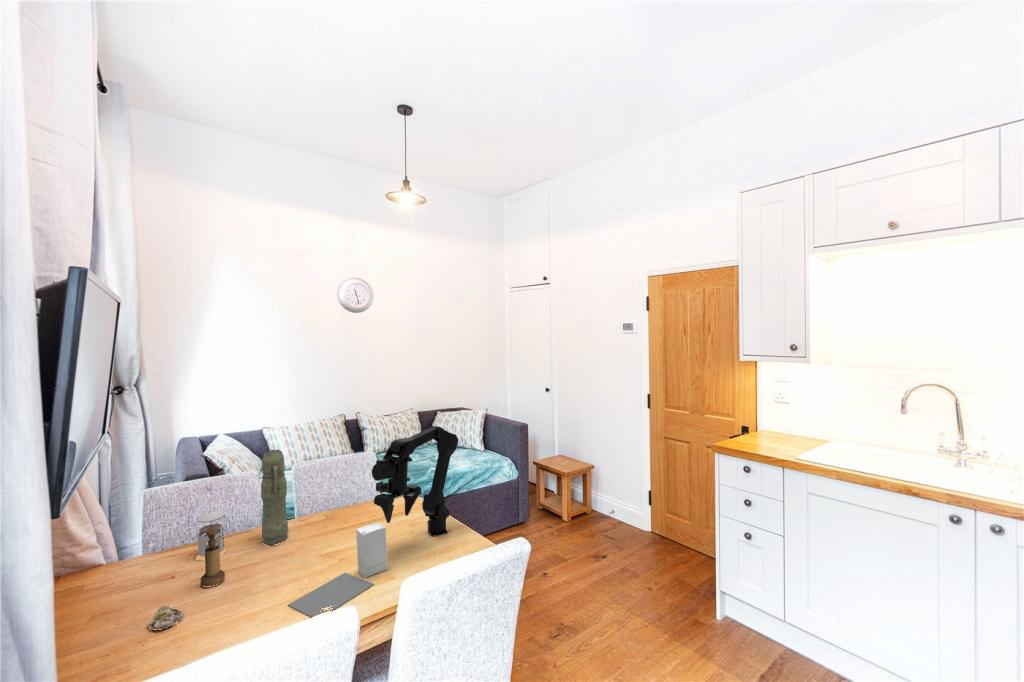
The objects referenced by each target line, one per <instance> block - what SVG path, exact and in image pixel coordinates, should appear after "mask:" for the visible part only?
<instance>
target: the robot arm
mask: <svg viewBox="0 0 1024 682" xmlns="http://www.w3.org/2000/svg"><path fill="white" fill-rule="evenodd" d="M432 440H434V441H435V442H436V449H437V453H438V455H437V461H436V464H435V468H434V474H433V477H432V482H431V488H430V491H429V492H427V494H426V493H425V494H424V495H423V500H422V503H421V506H422V511H423V513H424V515H425V517H428V520H427V522H426V523H427V524H426V525H427V532H428V533H429V535H430V536H431V535H432V537H435V536H434V535H436V536H440V535H444V534H443V533H445V534H448V533H447V532H449V531H448V530H447V518H449V517H450V513H451V511H450V510H449V509H448V508H447V507H446V499H445V496H444V495H445V494H444V489H445V485H446V484H445V483H446V480H447V476H448V470H449V466H450V465H449V464H450V460H451V457H452V455H454V453H455V452H456V450H457V447H458V444H459V437H458V436H457V435H456V434H455V433H452V432H449V431H447V430H446V429H444V428H443V427H441V426H436V425H435V426H434V425H432V426H430V427H428V428H427V429H425V430H422V431H420V432H418V433H416V434H414V435H412V436H409V437H403V438H398V439H394V440H392V442H390V445H389V447H388V448H387V451H386V452H385V454H384V456H383V458H382V460H381V459H378V460H376V461H375V464H374V465H373V467H372V469H371V476H372V478H373V480H374V481H376V483H375V491H376V492H377V493H379V494H376V495H375V496H374V498H373V505H376V506H378V507H380V508H381V510H382V513H383V515H384V518H385V521H386V523H387V524H390V523H391V520H392V515H393V511H394V507H395V504H394V502H395V500H396V499H399V498H403V499H404V515H405V516H406V517H407V516H409V514H410V513H411V510H412V509H413V506H414V505H415V503H416V501H417V499H418V498H419V497H420V495H422V488H421V486H419V485H415V484H408V482H410V479H411V478H410V477H408V471H409V469H408V468H409V467H408V466H409V463H410V462H413V458H412V457H411V456H410V455H412V454H413V453H414V452H415V450H416V449H417V448H419V447H420V446H422V445H425V444H426V443H428V442H430V441H432ZM383 480H387V482H385V483H384V482H383ZM386 493H387V494H386ZM439 534H440V535H439Z"/></svg>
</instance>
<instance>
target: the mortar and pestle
mask: <svg viewBox="0 0 1024 682" xmlns="http://www.w3.org/2000/svg"><path fill="white" fill-rule="evenodd" d="M216 533H217V528H216V527H209V528H208V529H207V531H206V533H205V535H207V536H208V537H209V541H208V543H207V544H208V545H209V547H208V548H206V549H205V561H204V562H205V564H204V568H205V571H204V574H203V575H202V576H201V577H200V586H201V585H202V586H206V587H207V586H213V585H216V584H219V583H221V582H223V580H224V579H225V580H226V573H225V571H224V570H222V569H221V560H220V559H221V556H220V546H215V545H216V540H215V535H216ZM207 536H206V537H207ZM223 583H224V582H223ZM221 584H222V583H221ZM219 585H220V584H219Z"/></svg>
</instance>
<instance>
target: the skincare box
mask: <svg viewBox="0 0 1024 682" xmlns="http://www.w3.org/2000/svg"><path fill="white" fill-rule="evenodd" d="M386 529H387V527H386V526H385V525H383V523H381V522H380V521H377V522H374V523H371V524H368V525H365V526H362V527H361V526H360V527H359V528H356V529H355V530H356V551H357V571H358V572H359V574H360V575H361V576H362V577H363V578H364V579H366V578H368V577H371V576H374V575H376V574H378V573H381V572H384V571H386V570H388V558H387V557H388V556H387V553H388V551H387V530H386Z"/></svg>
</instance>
